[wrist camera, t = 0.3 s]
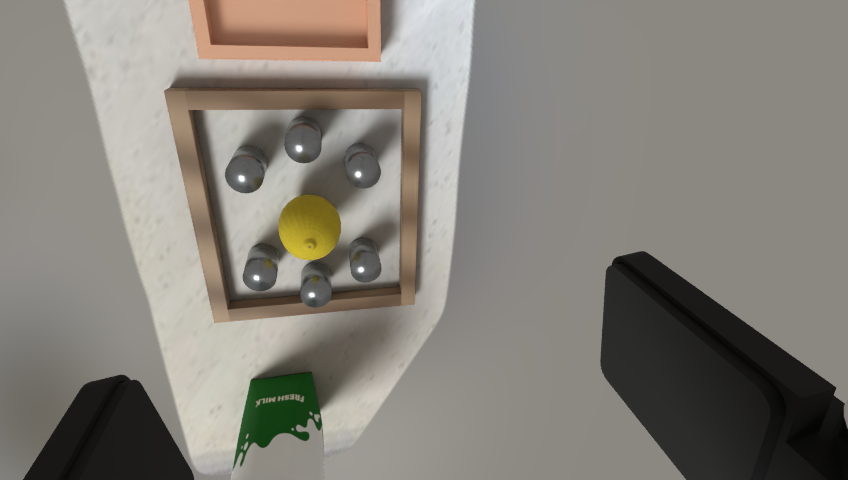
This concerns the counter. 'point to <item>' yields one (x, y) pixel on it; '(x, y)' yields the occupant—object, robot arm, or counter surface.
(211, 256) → the frame
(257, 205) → the counter surface
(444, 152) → the counter surface
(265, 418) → the milk carton
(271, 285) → the posts
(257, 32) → the dish
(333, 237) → the lemon
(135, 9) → the counter surface
